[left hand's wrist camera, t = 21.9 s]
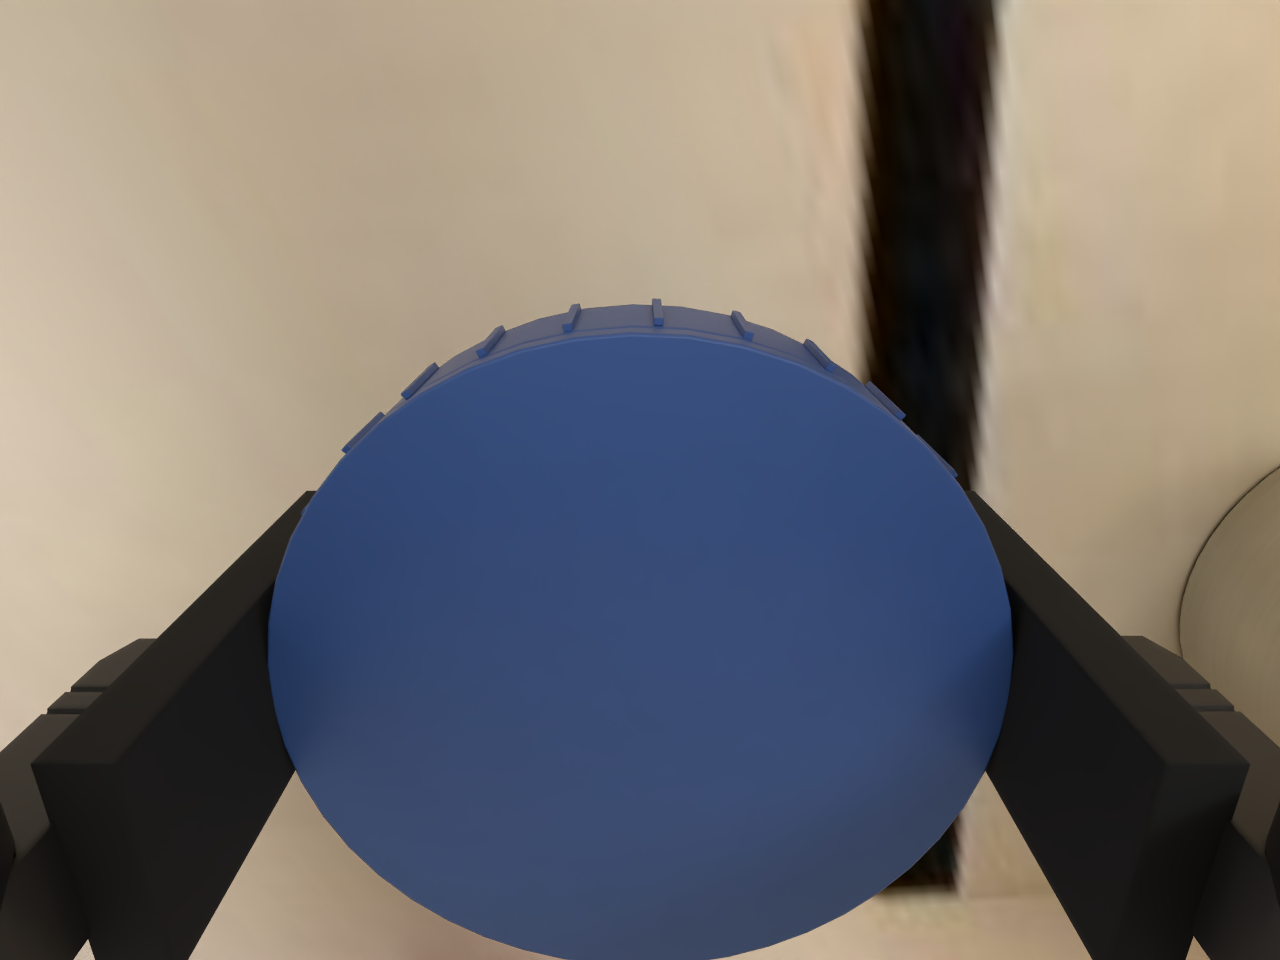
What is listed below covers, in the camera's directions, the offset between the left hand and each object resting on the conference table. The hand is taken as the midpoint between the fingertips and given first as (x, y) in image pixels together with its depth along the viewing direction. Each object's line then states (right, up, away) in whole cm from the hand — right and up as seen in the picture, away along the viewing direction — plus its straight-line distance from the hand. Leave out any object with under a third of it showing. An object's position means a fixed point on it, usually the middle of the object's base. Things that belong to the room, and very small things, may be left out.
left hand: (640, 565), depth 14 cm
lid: (0, -1, -3) cm, 3 cm away
